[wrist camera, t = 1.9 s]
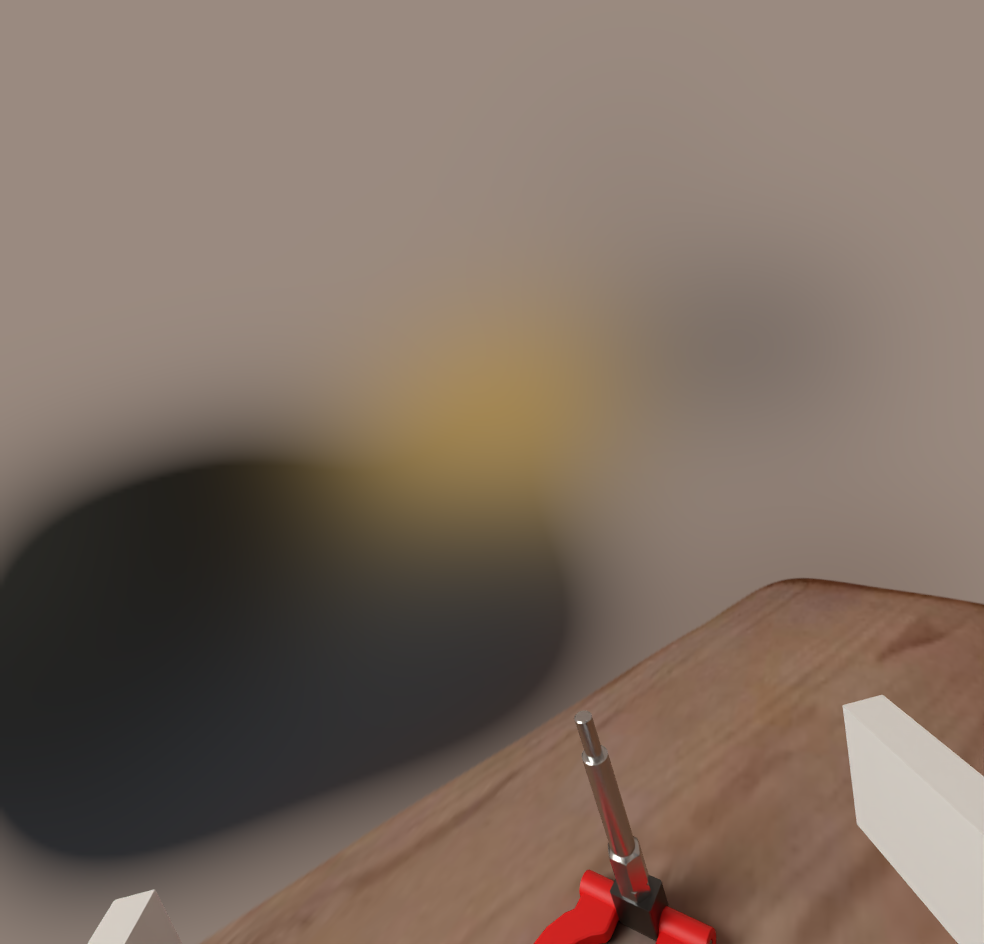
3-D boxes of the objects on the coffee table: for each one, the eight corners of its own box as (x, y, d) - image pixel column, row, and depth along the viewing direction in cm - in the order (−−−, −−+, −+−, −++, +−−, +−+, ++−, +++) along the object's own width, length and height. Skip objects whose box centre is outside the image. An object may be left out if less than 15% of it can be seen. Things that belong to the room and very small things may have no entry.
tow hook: (669, 1228, 19) (740, 951, 25) (573, 967, 15) (684, 726, 22) (483, 1068, 24) (581, 874, 31) (381, 849, 21) (516, 685, 27)
